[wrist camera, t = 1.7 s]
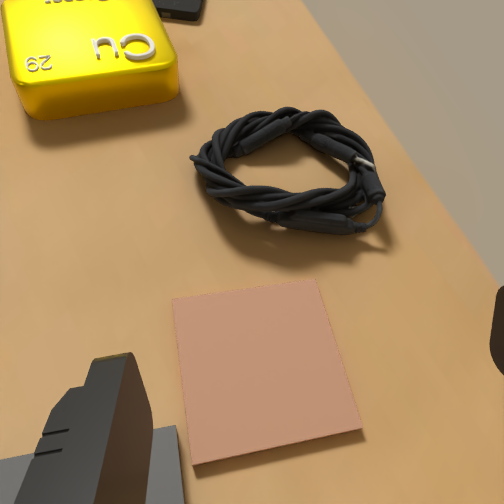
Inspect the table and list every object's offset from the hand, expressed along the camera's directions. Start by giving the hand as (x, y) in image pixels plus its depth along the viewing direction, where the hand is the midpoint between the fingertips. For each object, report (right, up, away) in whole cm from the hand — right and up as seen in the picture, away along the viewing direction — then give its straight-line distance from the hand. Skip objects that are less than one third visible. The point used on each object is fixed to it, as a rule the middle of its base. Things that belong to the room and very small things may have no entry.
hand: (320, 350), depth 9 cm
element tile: (-18, +22, +36) cm, 46 cm away
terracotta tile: (-1, -5, +20) cm, 21 cm away
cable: (+1, +9, +30) cm, 32 cm away
